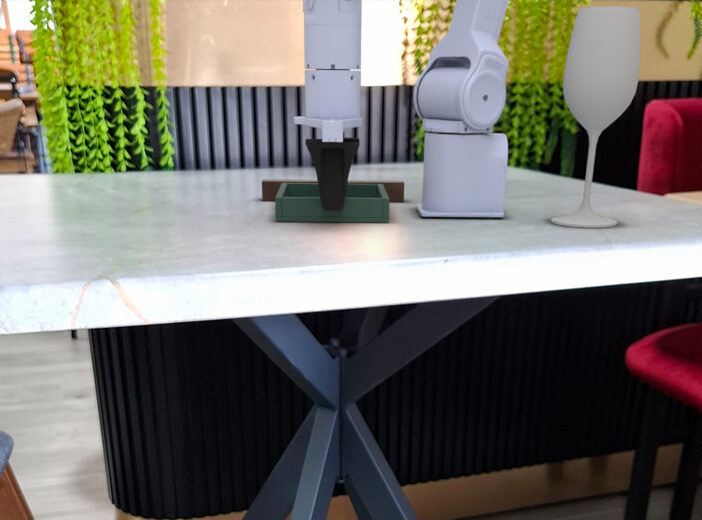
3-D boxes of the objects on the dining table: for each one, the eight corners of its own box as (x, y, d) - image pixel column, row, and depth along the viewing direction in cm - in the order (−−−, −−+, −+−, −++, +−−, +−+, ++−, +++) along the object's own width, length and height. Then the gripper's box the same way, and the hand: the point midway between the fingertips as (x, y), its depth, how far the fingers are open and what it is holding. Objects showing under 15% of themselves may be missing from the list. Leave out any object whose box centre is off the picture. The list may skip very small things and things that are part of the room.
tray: (382, 205, 111) (382, 183, 110) (388, 222, 98) (389, 198, 97) (282, 204, 111) (281, 182, 110) (275, 221, 98) (275, 197, 97)
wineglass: (585, 230, 95) (612, 4, 86) (534, 220, 101) (555, 8, 92) (633, 224, 99) (663, 8, 90) (582, 215, 104) (606, 11, 95)
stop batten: (402, 200, 116) (403, 180, 114) (403, 202, 114) (404, 182, 113) (263, 198, 115) (262, 179, 114) (262, 200, 113) (261, 180, 112)
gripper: (296, 69, 97) (298, 200, 103) (290, 69, 84) (292, 219, 90) (361, 70, 97) (359, 201, 103) (365, 70, 84) (362, 220, 90)
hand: (332, 209), depth 96 cm, fingers closed
